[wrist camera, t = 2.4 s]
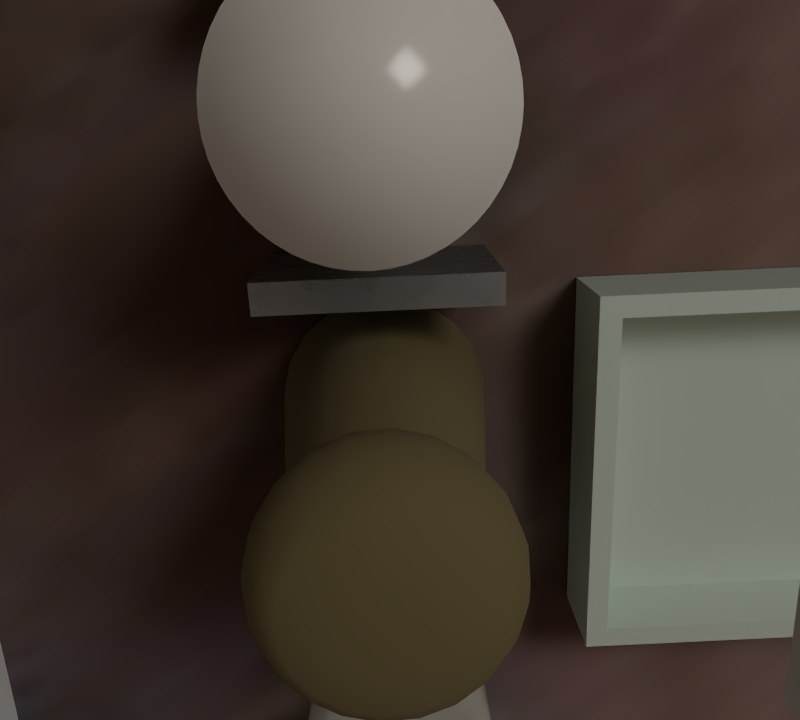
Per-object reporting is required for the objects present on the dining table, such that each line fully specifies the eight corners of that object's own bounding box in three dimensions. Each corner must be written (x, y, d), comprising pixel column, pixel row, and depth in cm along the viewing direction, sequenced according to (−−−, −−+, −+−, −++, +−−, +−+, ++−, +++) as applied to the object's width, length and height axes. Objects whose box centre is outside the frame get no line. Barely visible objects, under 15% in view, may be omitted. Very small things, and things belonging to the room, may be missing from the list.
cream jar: (269, 18, 19) (176, -67, 11) (463, 9, 19) (525, -83, 11) (286, 214, 21) (216, 277, 12) (465, 206, 21) (522, 264, 12)
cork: (518, 339, 22) (640, 536, 11) (440, 510, 24) (485, 819, 13) (324, 266, 21) (265, 407, 11) (258, 449, 23) (151, 725, 12)
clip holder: (242, -65, 19) (205, -114, 15) (481, -75, 19) (506, -126, 15) (316, 730, 26) (305, 834, 22) (487, 722, 26) (505, 825, 22)
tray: (576, 277, 21) (600, 296, 19) (947, 260, 21) (1017, 277, 19) (566, 596, 25) (586, 646, 22) (888, 580, 25) (942, 629, 22)
